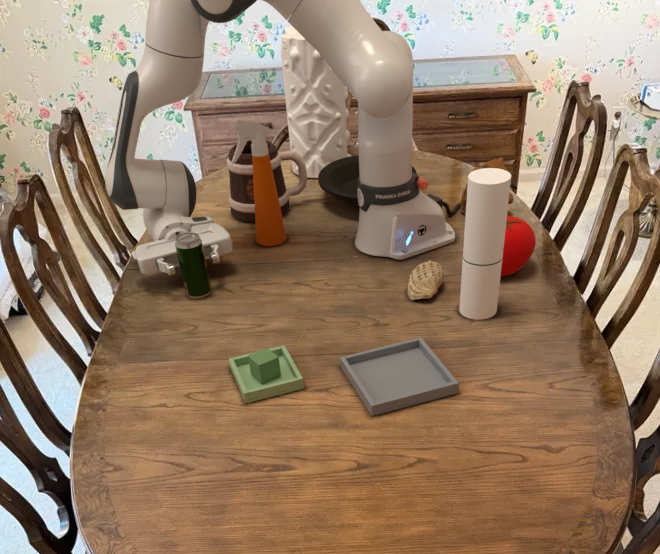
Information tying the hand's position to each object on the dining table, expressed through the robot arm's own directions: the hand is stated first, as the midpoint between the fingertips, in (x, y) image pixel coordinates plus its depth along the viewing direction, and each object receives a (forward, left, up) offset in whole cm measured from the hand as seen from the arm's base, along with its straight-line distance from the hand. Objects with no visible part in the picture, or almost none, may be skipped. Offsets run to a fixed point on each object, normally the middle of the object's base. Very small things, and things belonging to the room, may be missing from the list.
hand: (194, 265), depth 146 cm
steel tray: (-26, +46, -6) cm, 53 cm away
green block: (-5, +36, -6) cm, 36 cm away
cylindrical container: (-49, +31, -7) cm, 58 cm away
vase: (-45, -54, -7) cm, 71 cm away
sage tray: (-5, +36, -6) cm, 36 cm away
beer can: (0, 0, -7) cm, 7 cm away
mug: (-25, -34, -7) cm, 43 cm away
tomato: (-60, +18, -7) cm, 63 cm away
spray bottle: (-19, -17, -7) cm, 27 cm away
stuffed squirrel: (-69, -6, -7) cm, 69 cm away
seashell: (-43, +20, -7) cm, 48 cm away
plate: (-49, -29, -7) cm, 57 cm away
